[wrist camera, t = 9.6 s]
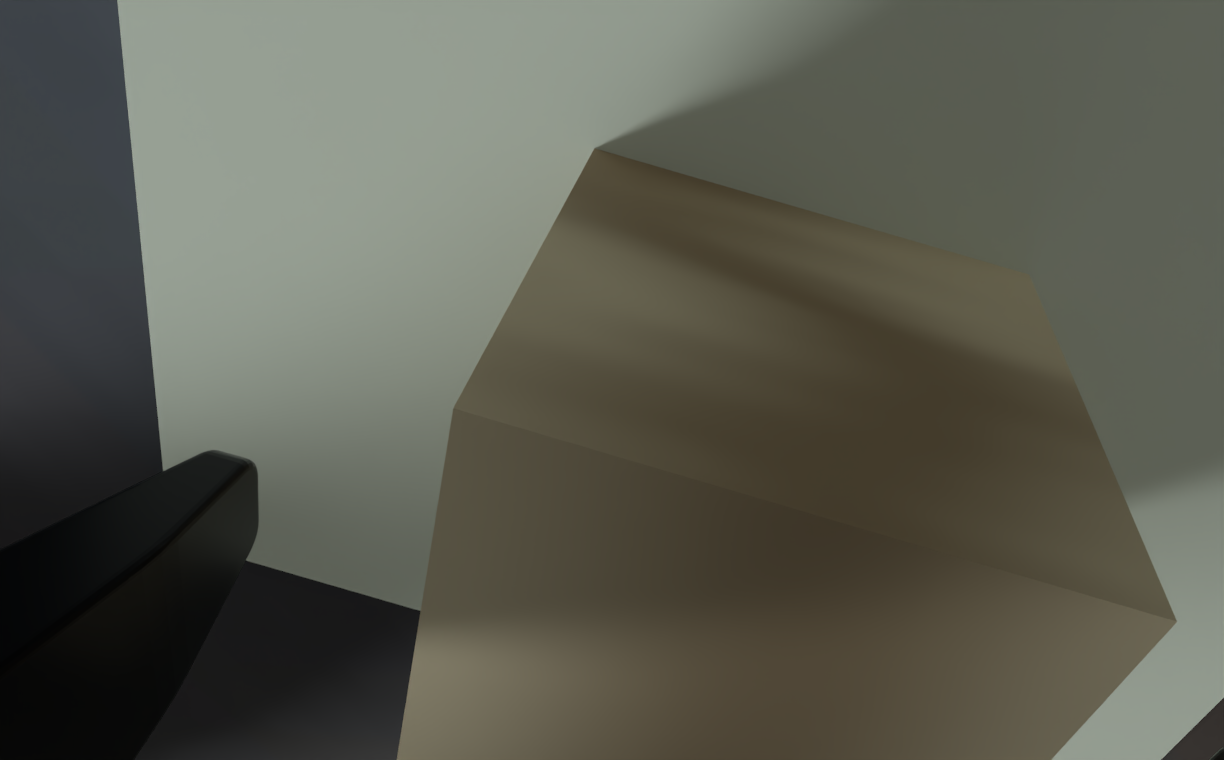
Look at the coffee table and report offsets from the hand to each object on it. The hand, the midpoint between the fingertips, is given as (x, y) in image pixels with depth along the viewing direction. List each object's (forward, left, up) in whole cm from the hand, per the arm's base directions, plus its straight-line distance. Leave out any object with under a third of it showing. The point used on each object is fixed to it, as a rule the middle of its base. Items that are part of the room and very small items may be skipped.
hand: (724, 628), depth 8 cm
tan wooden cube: (0, 0, -4) cm, 4 cm away
